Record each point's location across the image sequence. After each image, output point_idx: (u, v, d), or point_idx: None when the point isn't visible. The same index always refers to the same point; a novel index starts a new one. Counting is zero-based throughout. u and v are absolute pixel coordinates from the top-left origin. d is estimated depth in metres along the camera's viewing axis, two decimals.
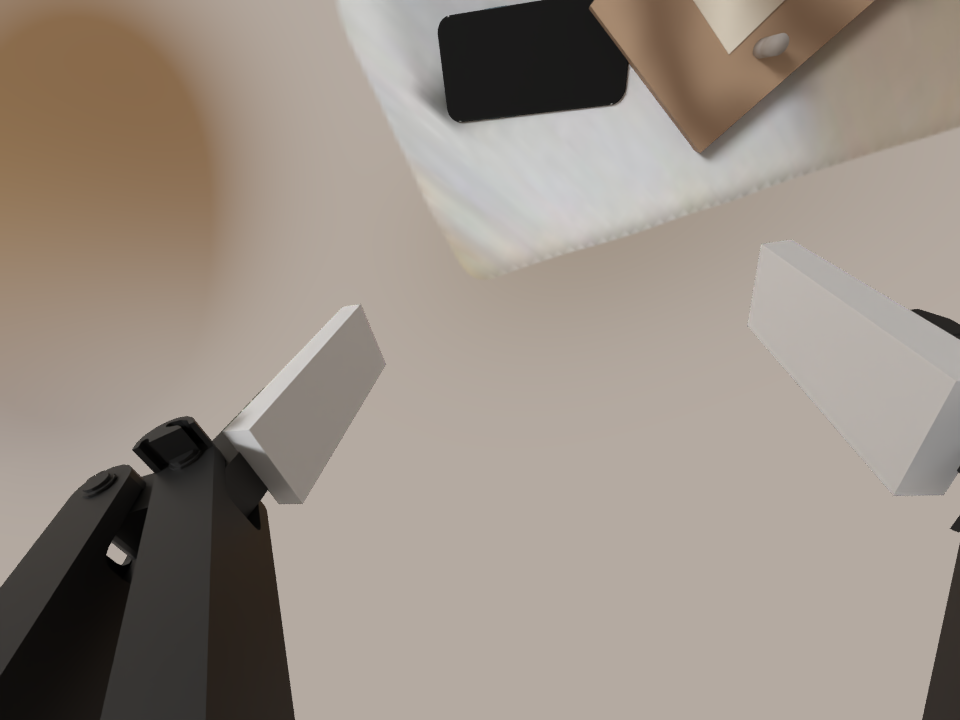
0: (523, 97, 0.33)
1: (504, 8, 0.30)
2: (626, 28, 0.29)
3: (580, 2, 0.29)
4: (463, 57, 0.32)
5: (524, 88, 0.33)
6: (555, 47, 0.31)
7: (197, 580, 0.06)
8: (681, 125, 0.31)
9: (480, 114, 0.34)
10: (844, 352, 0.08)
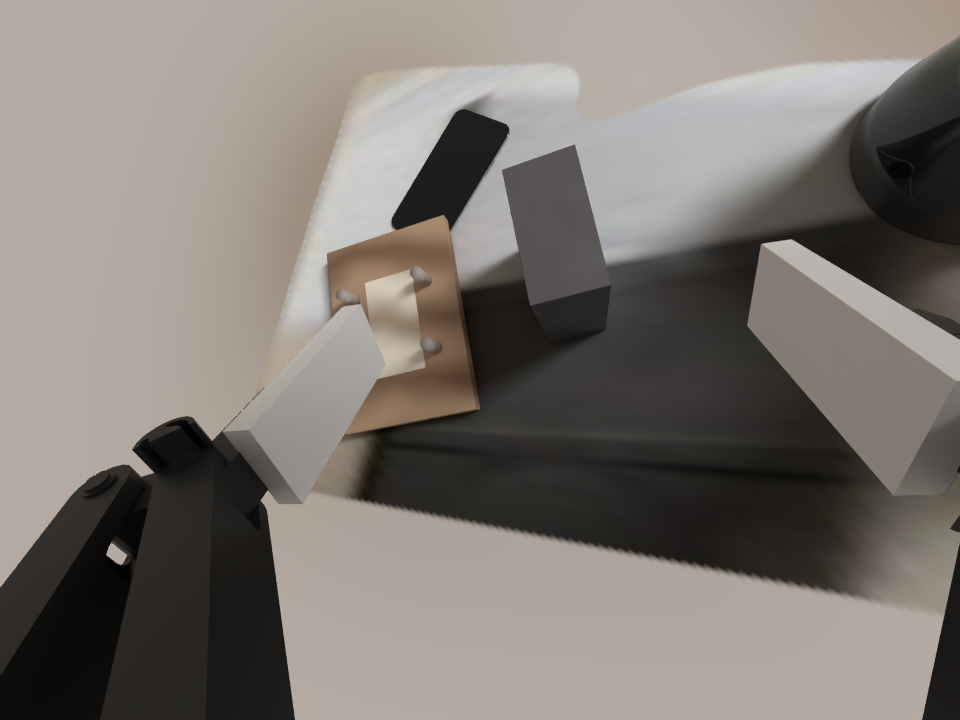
0: (435, 162, 0.42)
1: (484, 171, 0.40)
2: (418, 231, 0.40)
3: (453, 217, 0.41)
4: (482, 134, 0.41)
5: (439, 165, 0.42)
6: (444, 193, 0.41)
7: (197, 580, 0.06)
8: (348, 246, 0.42)
9: (447, 130, 0.42)
10: (844, 352, 0.08)
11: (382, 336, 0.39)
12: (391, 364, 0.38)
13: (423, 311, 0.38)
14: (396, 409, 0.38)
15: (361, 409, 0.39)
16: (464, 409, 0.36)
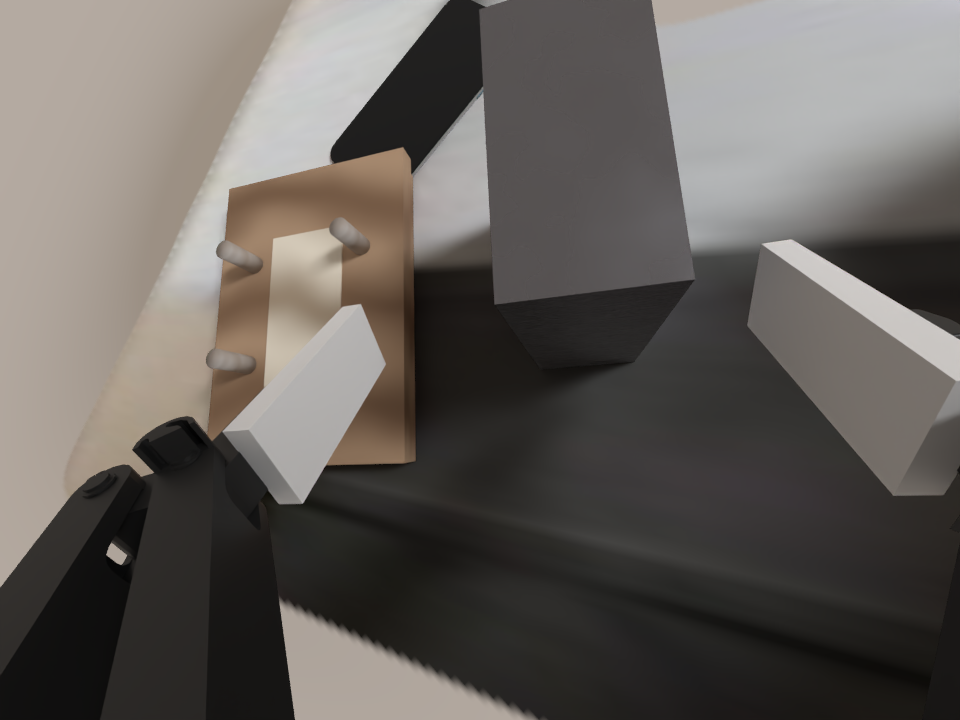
0: (407, 72, 0.28)
1: (476, 91, 0.26)
2: (361, 169, 0.26)
3: (418, 155, 0.26)
4: None
5: (411, 77, 0.28)
6: (411, 119, 0.27)
7: (197, 580, 0.06)
8: (260, 182, 0.28)
9: (433, 25, 0.28)
10: (844, 352, 0.08)
11: (284, 323, 0.25)
12: None
13: (349, 293, 0.24)
14: None
15: None
16: (386, 460, 0.22)
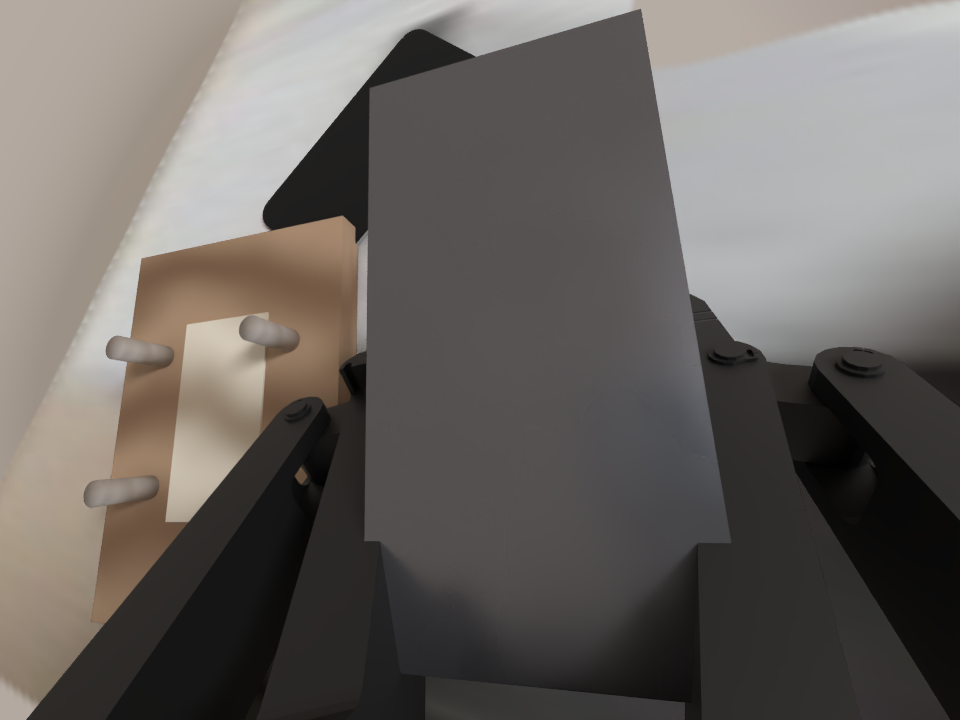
0: (354, 118, 0.23)
1: None
2: (293, 241, 0.21)
3: (363, 222, 0.22)
4: None
5: (359, 124, 0.23)
6: (357, 176, 0.22)
7: None
8: (177, 252, 0.23)
9: (386, 63, 0.23)
10: None
11: (193, 436, 0.20)
12: (197, 498, 0.19)
13: (273, 401, 0.19)
14: None
15: (129, 577, 0.20)
16: None
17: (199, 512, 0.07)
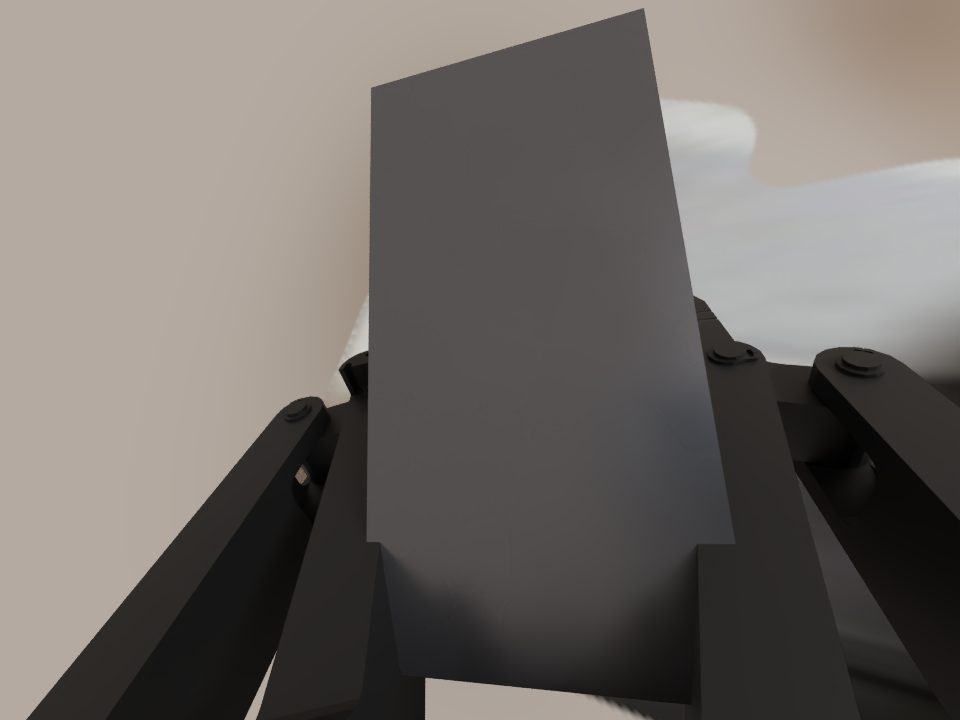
0: None
1: None
2: None
3: None
4: None
5: None
6: None
7: None
8: None
9: None
10: None
11: None
12: None
13: None
14: None
15: None
16: None
17: (199, 513, 0.07)
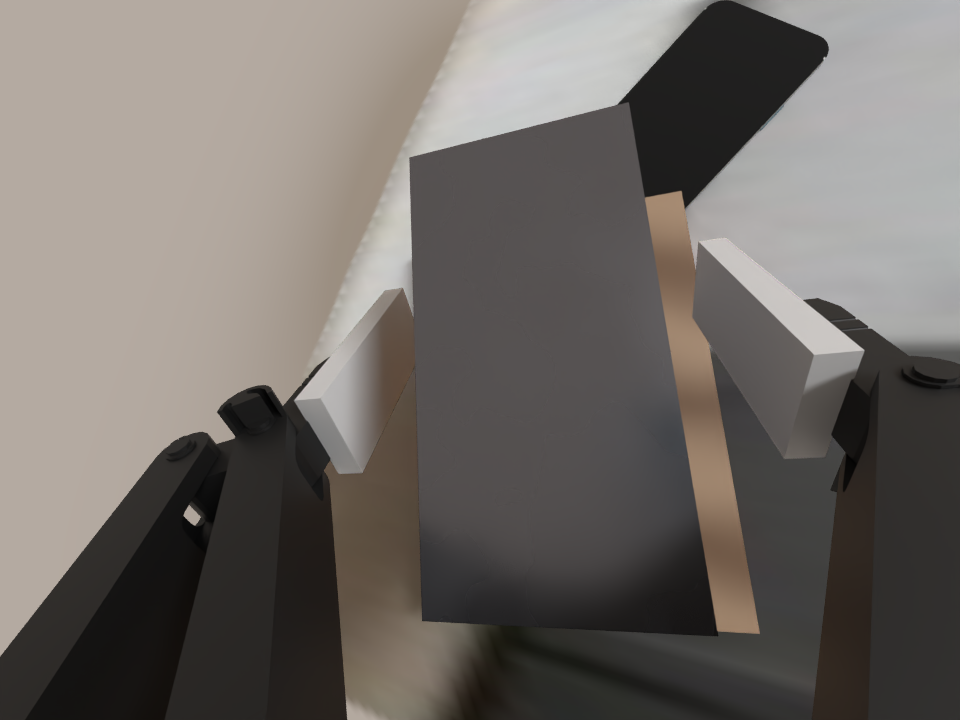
0: (654, 91, 0.22)
1: (762, 121, 0.20)
2: None
3: None
4: (764, 50, 0.21)
5: (661, 98, 0.22)
6: (666, 151, 0.21)
7: (266, 547, 0.06)
8: None
9: (688, 35, 0.22)
10: (751, 336, 0.09)
11: None
12: None
13: None
14: None
15: None
16: (728, 627, 0.16)
17: (72, 569, 0.07)
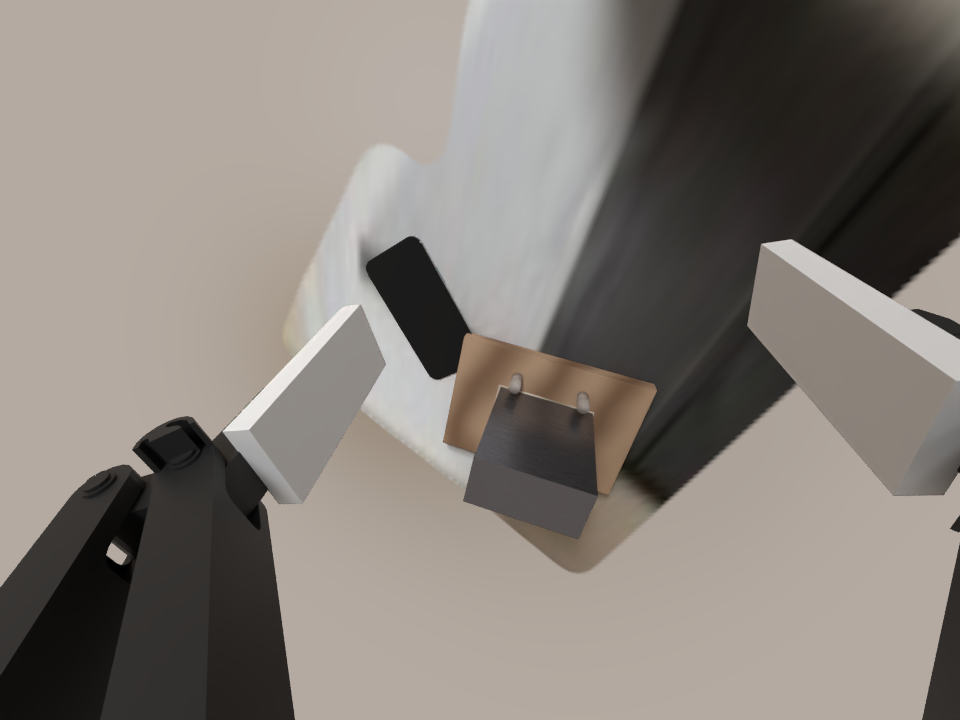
0: (403, 315, 0.43)
1: (441, 282, 0.40)
2: (467, 364, 0.42)
3: (465, 331, 0.42)
4: (403, 262, 0.40)
5: (408, 314, 0.42)
6: (438, 325, 0.42)
7: (197, 580, 0.06)
8: (447, 423, 0.45)
9: (379, 287, 0.42)
10: (844, 352, 0.08)
11: None
12: None
13: (543, 392, 0.41)
14: (614, 449, 0.42)
15: None
16: (651, 399, 0.39)
17: None
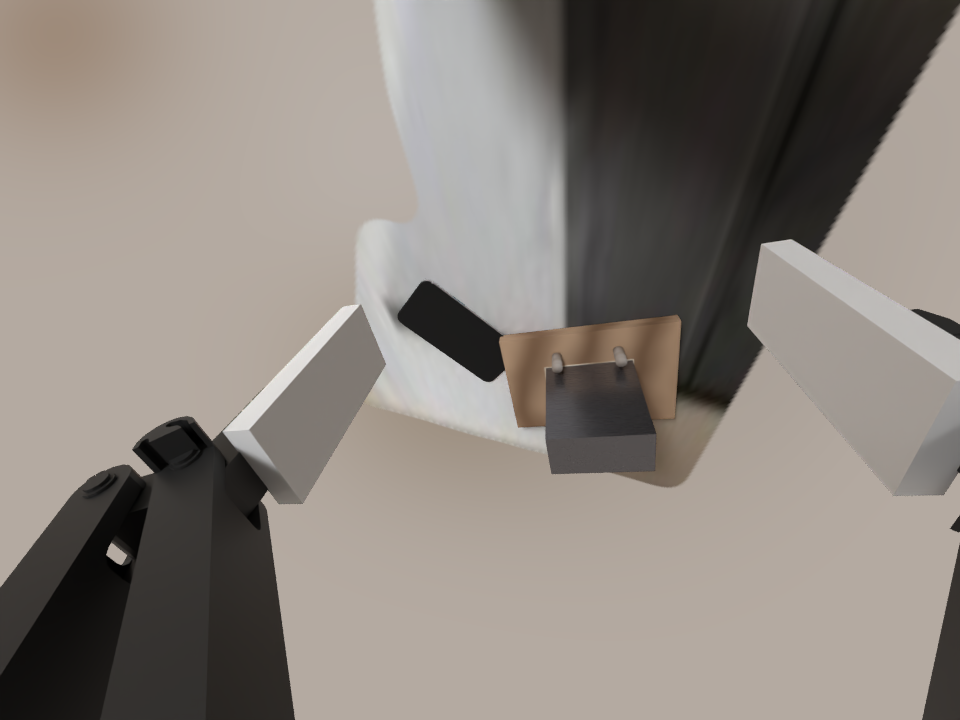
0: (443, 343, 0.49)
1: (462, 306, 0.46)
2: (510, 361, 0.48)
3: (497, 336, 0.47)
4: (425, 303, 0.46)
5: (447, 341, 0.49)
6: (474, 340, 0.48)
7: (197, 579, 0.06)
8: (515, 412, 0.52)
9: (415, 330, 0.49)
10: (844, 352, 0.08)
11: None
12: None
13: (583, 359, 0.46)
14: (664, 381, 0.46)
15: (656, 405, 0.48)
16: (679, 330, 0.42)
17: None
